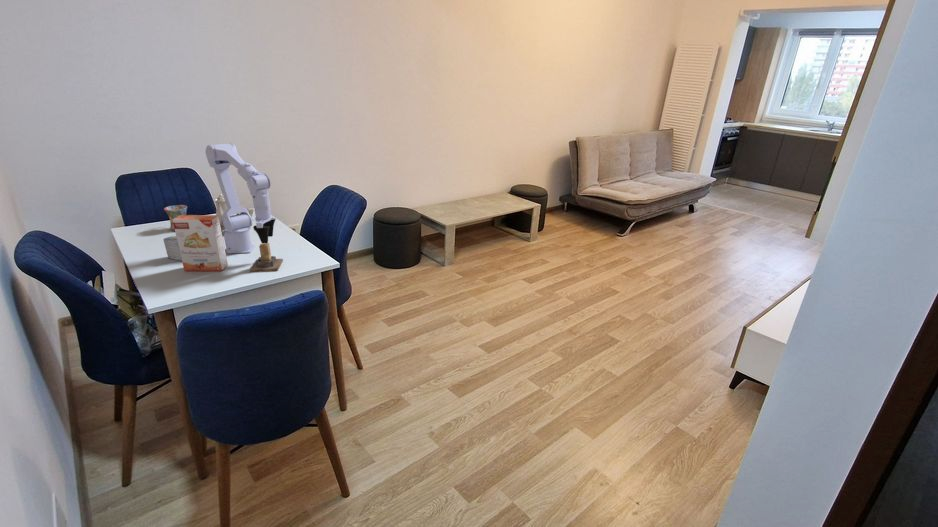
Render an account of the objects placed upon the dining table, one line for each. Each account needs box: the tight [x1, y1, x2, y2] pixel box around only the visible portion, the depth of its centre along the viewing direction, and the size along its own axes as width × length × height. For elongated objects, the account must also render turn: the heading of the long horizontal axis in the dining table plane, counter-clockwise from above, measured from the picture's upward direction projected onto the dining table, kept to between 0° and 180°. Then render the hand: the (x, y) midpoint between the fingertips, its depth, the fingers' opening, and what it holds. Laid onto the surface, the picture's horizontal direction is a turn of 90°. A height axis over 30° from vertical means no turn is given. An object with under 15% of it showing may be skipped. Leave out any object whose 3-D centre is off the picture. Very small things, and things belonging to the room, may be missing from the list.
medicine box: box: [163, 235, 182, 261], centre depth 180 cm, size 8×4×9 cm, turn 71°
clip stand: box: [249, 255, 284, 273], centre depth 176 cm, size 10×10×3 cm
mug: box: [163, 204, 188, 232], centre depth 212 cm, size 12×9×11 cm
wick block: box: [258, 242, 272, 261], centre depth 175 cm, size 3×3×8 cm
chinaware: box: [213, 194, 255, 232], centre depth 217 cm, size 28×17×17 cm, turn 15°
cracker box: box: [172, 214, 229, 272], centre depth 169 cm, size 14×6×21 cm, turn 94°
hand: (267, 239), depth 177 cm, fingers open, 7 cm apart
